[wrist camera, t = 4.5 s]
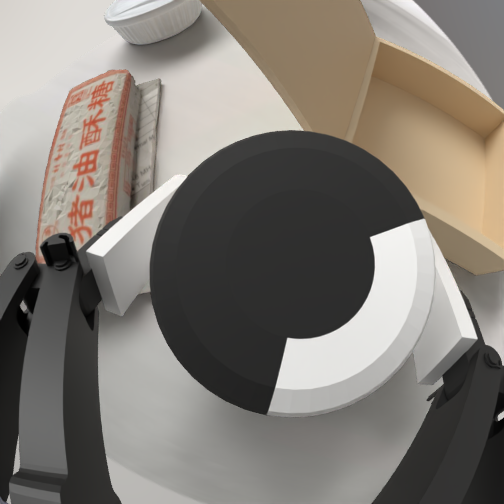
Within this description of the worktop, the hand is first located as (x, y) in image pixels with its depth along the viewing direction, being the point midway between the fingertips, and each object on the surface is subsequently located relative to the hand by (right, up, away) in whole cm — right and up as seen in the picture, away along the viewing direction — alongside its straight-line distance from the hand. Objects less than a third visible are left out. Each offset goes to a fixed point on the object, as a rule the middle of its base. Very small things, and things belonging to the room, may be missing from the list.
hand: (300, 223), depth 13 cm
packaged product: (-14, +4, +7) cm, 16 cm away
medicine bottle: (0, -3, +4) cm, 5 cm away
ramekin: (-13, +25, +10) cm, 30 cm away
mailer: (+8, +7, +5) cm, 11 cm away
